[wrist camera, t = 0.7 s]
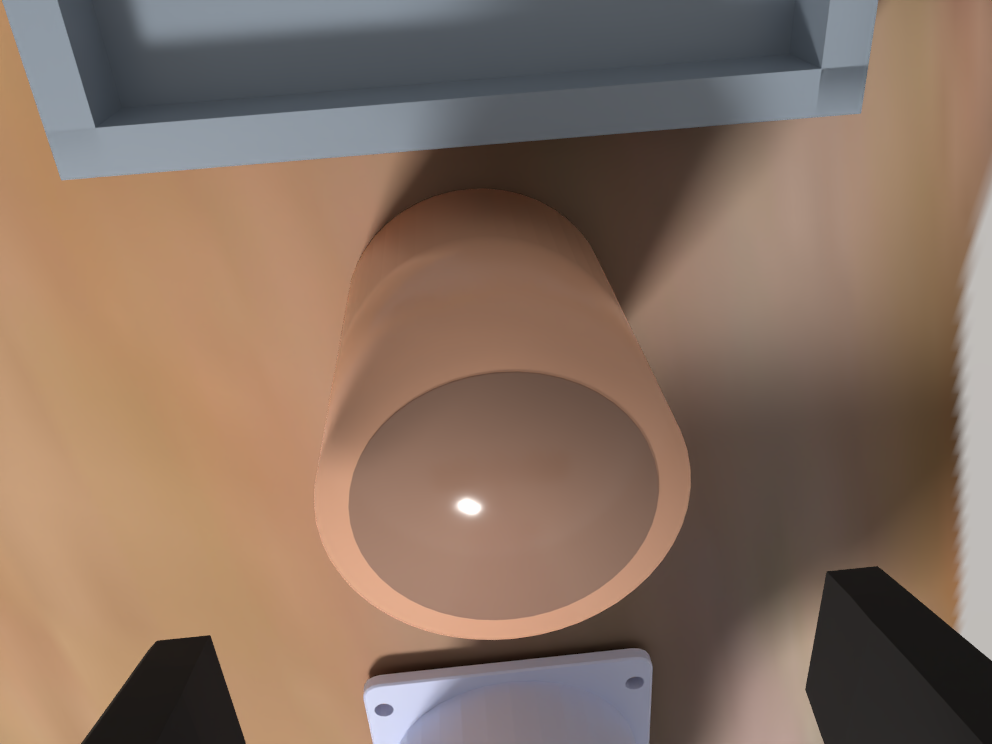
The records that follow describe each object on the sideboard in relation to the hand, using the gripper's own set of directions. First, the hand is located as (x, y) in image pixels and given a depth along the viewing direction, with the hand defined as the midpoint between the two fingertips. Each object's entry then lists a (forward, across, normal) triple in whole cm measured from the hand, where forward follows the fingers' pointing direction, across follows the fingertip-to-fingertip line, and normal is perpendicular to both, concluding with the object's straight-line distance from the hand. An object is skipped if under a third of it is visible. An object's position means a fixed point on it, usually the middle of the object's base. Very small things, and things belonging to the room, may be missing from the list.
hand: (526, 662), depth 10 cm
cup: (+9, 0, 0) cm, 9 cm away
